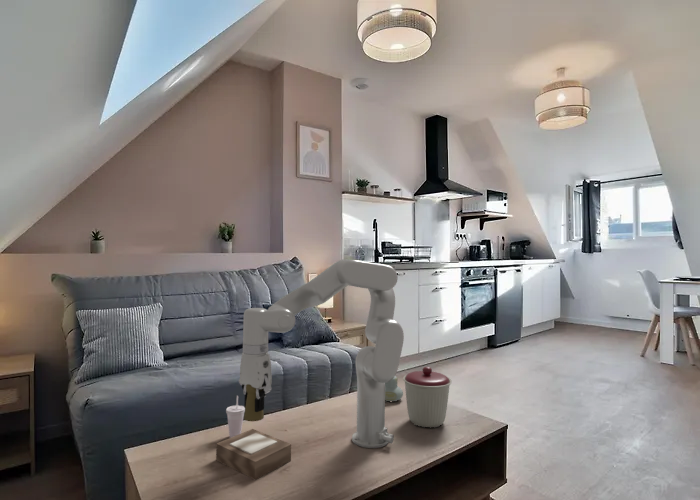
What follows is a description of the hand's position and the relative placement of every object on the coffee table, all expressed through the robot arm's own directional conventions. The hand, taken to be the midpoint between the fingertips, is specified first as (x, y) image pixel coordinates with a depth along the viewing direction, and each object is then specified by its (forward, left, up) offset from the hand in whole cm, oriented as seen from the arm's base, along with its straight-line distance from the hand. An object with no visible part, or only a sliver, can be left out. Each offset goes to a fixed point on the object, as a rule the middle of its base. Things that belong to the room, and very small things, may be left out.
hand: (254, 408), depth 128 cm
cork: (0, 0, -3) cm, 3 cm away
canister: (-28, -60, -16) cm, 68 cm away
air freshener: (-4, -73, -16) cm, 75 cm away
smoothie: (+18, -7, -16) cm, 25 cm away
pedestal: (0, 0, -16) cm, 16 cm away
